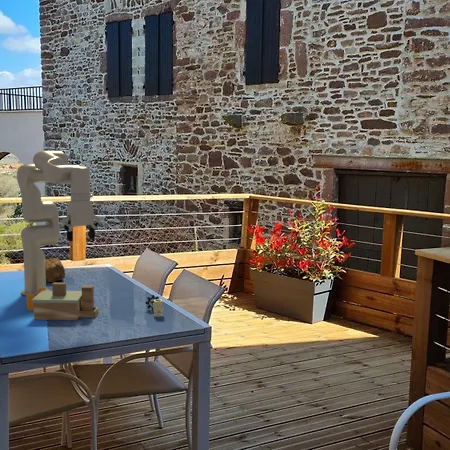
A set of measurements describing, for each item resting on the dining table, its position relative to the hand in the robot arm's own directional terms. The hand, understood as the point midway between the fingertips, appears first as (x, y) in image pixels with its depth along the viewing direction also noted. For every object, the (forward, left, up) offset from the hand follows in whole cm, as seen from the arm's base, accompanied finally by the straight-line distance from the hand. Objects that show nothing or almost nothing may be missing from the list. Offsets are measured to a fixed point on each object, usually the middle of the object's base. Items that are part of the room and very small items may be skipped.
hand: (81, 239), depth 246 cm
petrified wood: (-63, -29, -32) cm, 77 cm away
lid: (+1, -9, -24) cm, 26 cm away
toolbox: (+1, -6, -31) cm, 32 cm away
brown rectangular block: (+1, +3, -31) cm, 31 cm away
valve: (-3, +30, -32) cm, 44 cm away
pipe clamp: (-12, -23, -32) cm, 41 cm away
